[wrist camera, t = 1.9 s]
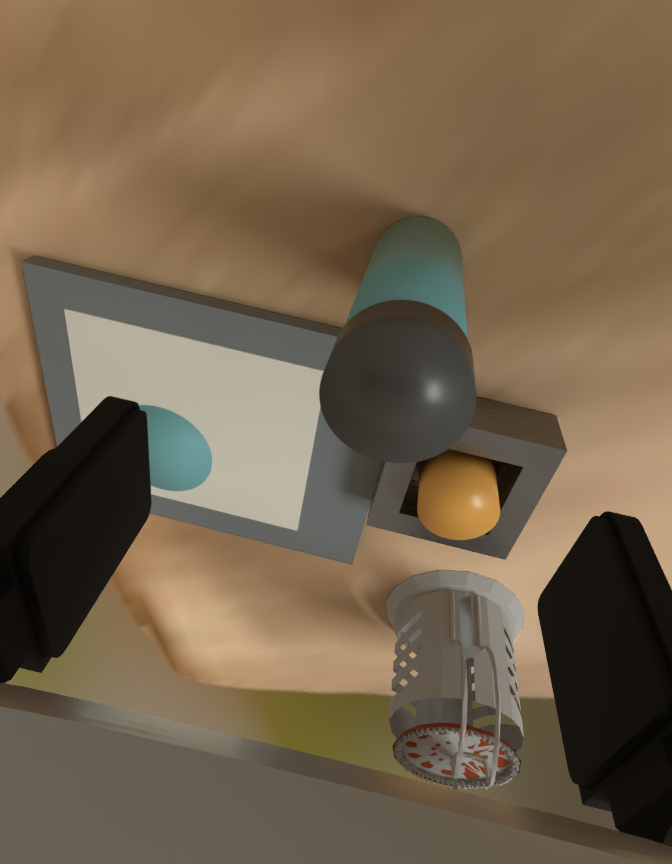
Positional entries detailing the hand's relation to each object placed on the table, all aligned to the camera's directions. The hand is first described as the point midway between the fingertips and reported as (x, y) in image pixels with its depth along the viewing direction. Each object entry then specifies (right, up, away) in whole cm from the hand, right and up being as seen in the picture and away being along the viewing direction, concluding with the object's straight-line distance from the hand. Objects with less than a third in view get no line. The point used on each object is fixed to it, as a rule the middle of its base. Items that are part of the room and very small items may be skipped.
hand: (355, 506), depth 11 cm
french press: (+8, -11, +26) cm, 30 cm away
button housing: (+6, 0, +18) cm, 20 cm away
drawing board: (-8, +2, +20) cm, 22 cm away
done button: (+6, -1, +17) cm, 18 cm away
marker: (+3, +9, +13) cm, 16 cm away
